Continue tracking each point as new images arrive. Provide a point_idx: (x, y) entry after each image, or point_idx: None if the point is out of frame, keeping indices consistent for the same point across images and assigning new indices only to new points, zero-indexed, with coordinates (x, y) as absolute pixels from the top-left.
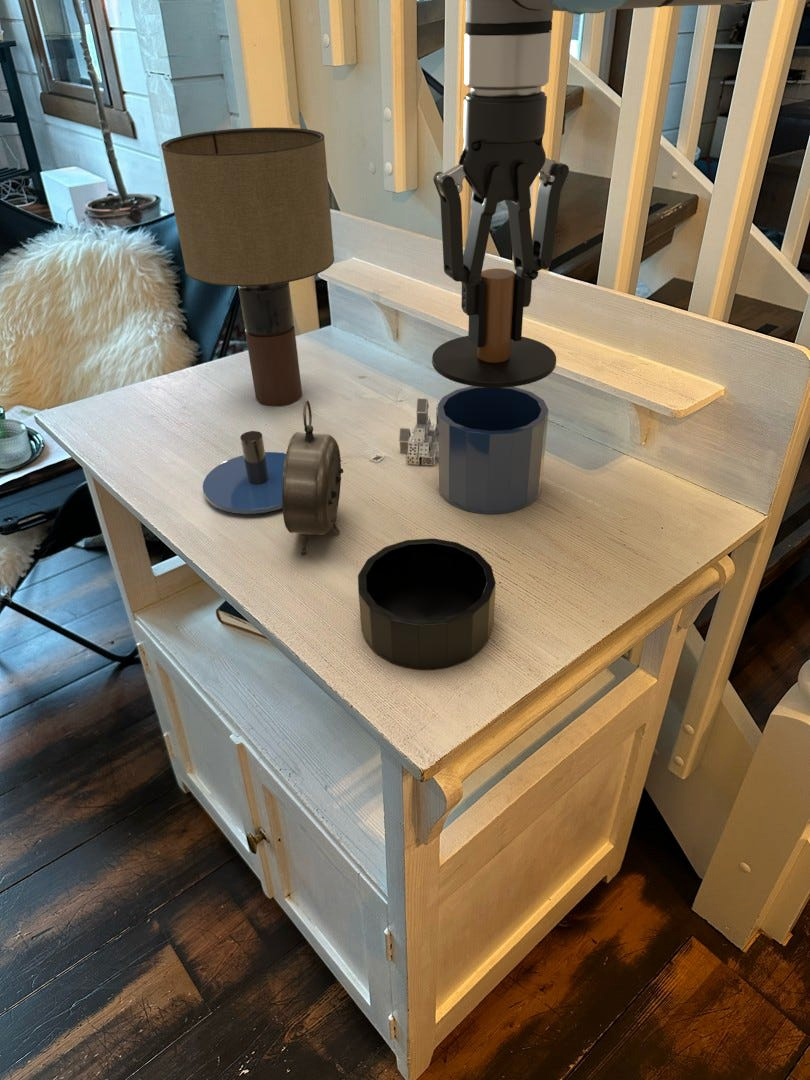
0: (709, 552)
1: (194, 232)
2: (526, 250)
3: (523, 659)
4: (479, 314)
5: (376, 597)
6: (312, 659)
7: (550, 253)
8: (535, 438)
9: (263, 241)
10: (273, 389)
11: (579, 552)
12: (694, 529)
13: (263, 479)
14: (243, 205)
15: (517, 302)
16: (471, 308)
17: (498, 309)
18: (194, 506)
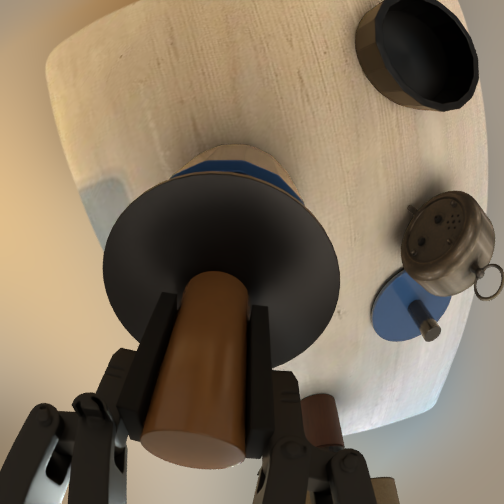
0: (113, 14)
1: None
2: (92, 482)
3: None
4: (270, 363)
5: (434, 99)
6: (479, 87)
7: (24, 433)
8: (198, 161)
9: None
10: (330, 405)
11: (221, 50)
12: (98, 47)
13: (417, 301)
14: None
15: (153, 360)
16: (284, 385)
17: (217, 359)
18: (452, 297)
